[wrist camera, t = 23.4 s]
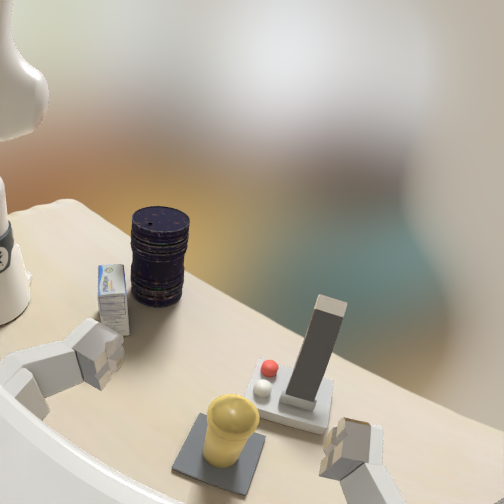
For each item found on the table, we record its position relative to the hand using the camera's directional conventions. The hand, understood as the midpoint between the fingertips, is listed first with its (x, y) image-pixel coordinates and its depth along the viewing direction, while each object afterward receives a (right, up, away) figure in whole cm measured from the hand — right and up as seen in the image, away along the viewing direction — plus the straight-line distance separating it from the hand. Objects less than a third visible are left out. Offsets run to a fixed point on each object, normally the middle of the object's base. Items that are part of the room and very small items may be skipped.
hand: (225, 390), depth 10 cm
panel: (+6, -17, +32) cm, 36 cm away
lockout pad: (-3, -20, +22) cm, 30 cm away
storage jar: (-17, -3, +47) cm, 50 cm away
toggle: (+7, -15, +29) cm, 33 cm away
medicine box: (-22, -7, +38) cm, 44 cm away
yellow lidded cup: (-3, -19, +22) cm, 30 cm away
